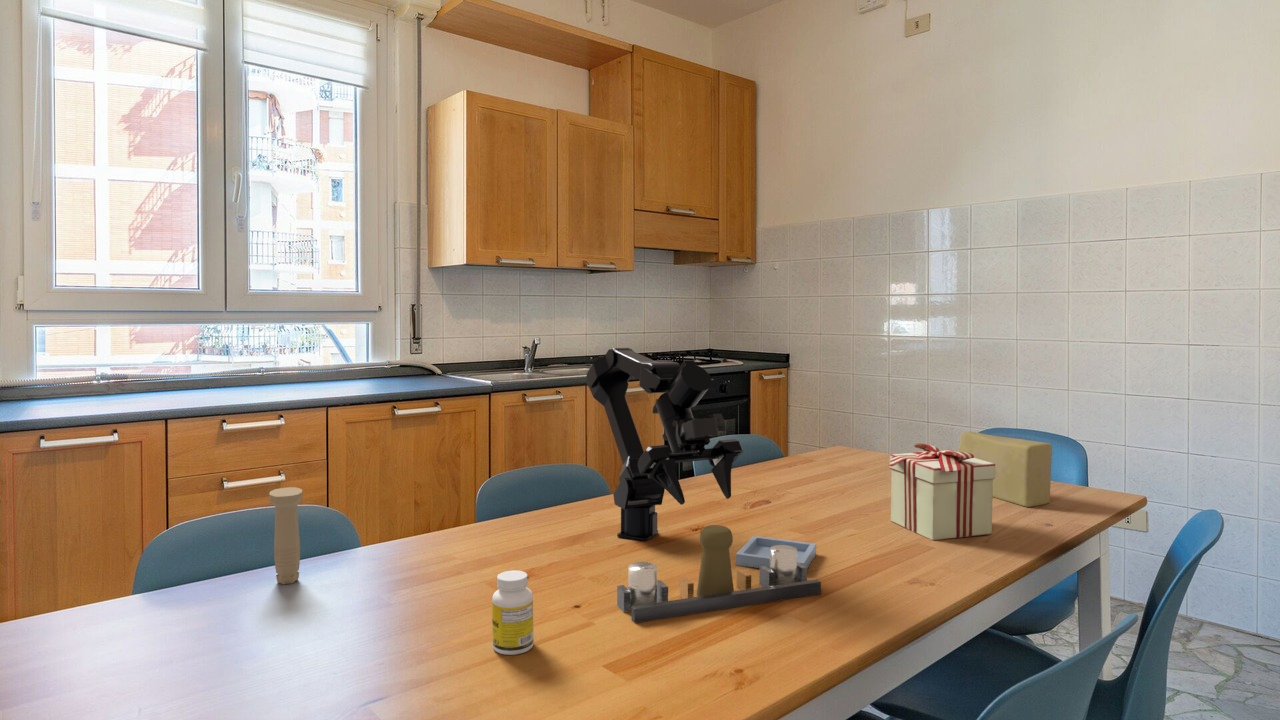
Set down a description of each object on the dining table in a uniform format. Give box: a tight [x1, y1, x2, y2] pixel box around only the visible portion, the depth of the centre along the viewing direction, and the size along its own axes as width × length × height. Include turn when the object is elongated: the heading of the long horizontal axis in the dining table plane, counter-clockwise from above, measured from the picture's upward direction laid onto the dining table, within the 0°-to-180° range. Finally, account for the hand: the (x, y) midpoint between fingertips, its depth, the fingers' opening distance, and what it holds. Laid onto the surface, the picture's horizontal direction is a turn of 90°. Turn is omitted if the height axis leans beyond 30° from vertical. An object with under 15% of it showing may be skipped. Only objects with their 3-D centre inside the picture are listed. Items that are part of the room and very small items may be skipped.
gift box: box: [888, 442, 995, 541], centre depth 155 cm, size 17×18×17 cm
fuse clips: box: [616, 545, 822, 624], centre depth 116 cm, size 8×32×6 cm, turn 112°
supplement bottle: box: [491, 570, 534, 656], centre depth 99 cm, size 5×5×10 cm
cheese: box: [958, 431, 1053, 508], centre depth 185 cm, size 22×10×15 cm, turn 30°
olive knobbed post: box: [696, 524, 735, 597], centre depth 118 cm, size 6×6×11 cm
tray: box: [735, 535, 817, 569], centre depth 135 cm, size 12×12×2 cm
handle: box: [269, 486, 303, 585], centre depth 122 cm, size 5×6×15 cm
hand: (706, 500), depth 126 cm, fingers open, 9 cm apart
